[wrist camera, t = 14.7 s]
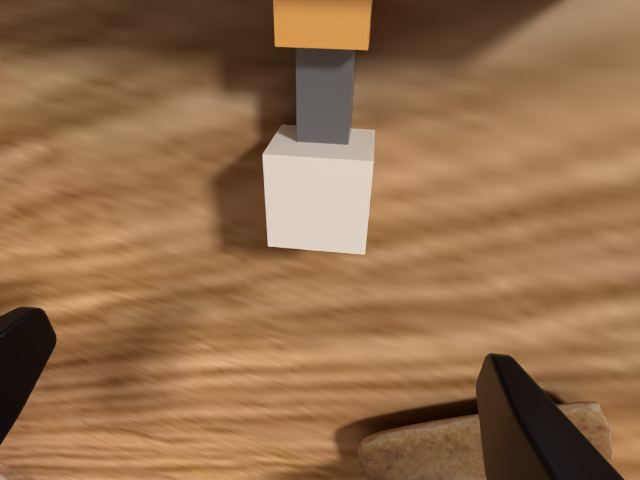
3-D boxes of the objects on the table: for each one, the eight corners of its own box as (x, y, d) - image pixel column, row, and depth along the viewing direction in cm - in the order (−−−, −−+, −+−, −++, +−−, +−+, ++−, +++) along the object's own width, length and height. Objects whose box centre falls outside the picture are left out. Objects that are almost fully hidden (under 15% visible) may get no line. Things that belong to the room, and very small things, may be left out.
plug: (276, -45, 15) (250, -49, 12) (390, -43, 14) (393, -46, 11) (284, 206, 20) (267, 246, 17) (367, 212, 20) (365, 254, 17)
